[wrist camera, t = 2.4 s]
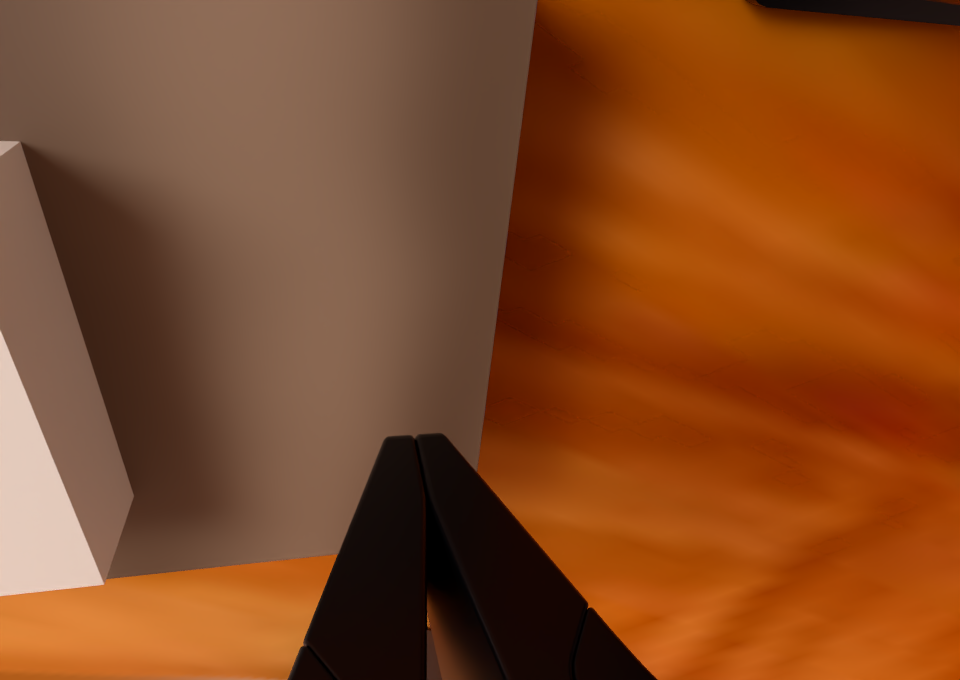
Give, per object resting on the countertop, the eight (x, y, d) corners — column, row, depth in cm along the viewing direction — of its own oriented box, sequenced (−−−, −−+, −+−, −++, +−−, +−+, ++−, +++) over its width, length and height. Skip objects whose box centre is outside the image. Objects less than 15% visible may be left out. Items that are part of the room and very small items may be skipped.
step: (492, -37, 11) (540, -24, 8) (448, 453, 17) (468, 539, 15) (-520, -140, 8) (-894, -165, 5) (-111, 495, 15) (-198, 611, 12)
